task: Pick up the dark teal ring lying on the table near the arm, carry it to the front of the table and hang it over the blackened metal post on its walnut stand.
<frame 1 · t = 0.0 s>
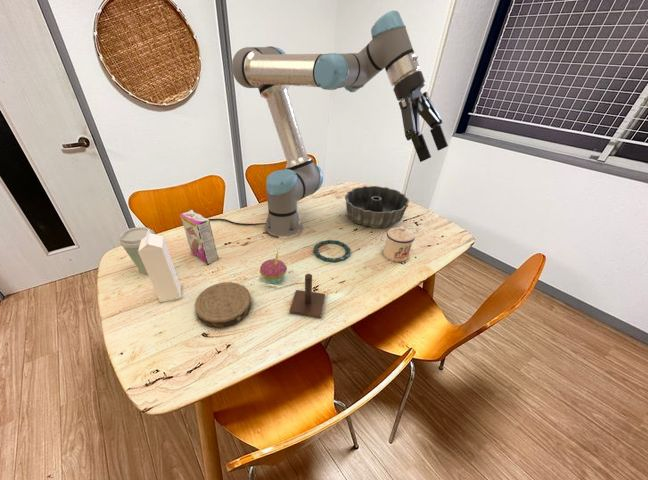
hand: (434, 153, 78), 36 cm above the table, tool tilted 35°, fingers open, 13 cm apart
ring: (331, 251, 103), point 1 cm above the table
milk: (171, 294, 87), on the table
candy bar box: (204, 256, 103), on the table
wood slice: (224, 307, 82), on the table
cupcake: (274, 280, 92), on the table
disposable coffee cup: (151, 269, 97), on the table
teacup with lid: (398, 254, 102), on the table
post: (307, 304, 82), on the table
bundt pan: (372, 219, 123), on the table
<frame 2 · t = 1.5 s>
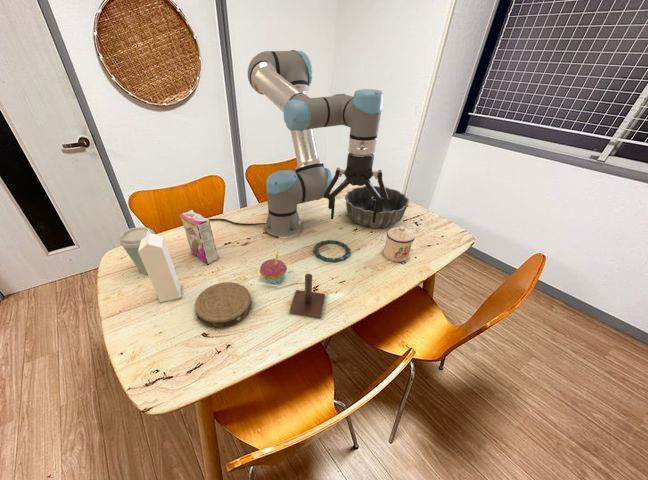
hand: (352, 219, 93), 15 cm above the table, tool pointing down, fingers open, 13 cm apart
nothing on the table moved.
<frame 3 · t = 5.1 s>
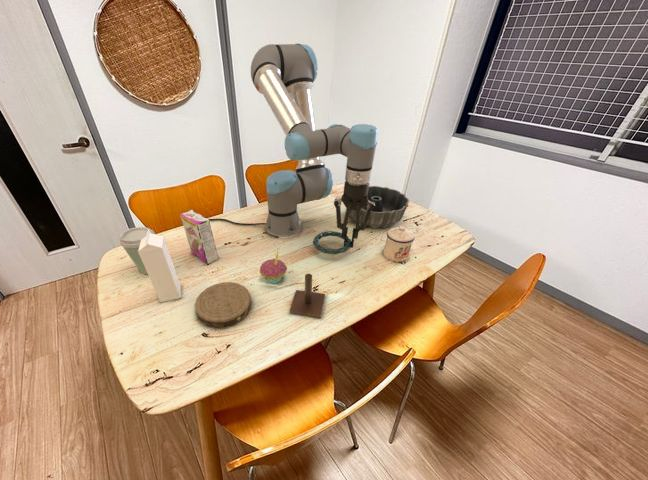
hand: (348, 244, 100), 4 cm above the table, tool pointing down, fingers closed on ring, 2 cm apart
ring: (332, 242, 100), point 5 cm above the table, touching gripper
everything else where it was.
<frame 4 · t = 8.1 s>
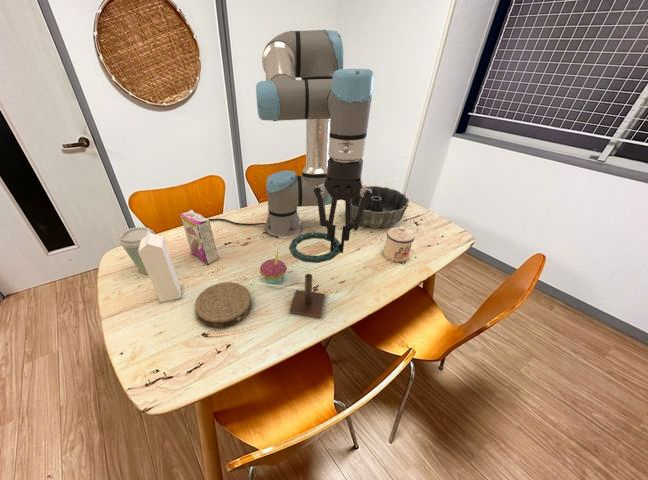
hand: (336, 249, 73), 18 cm above the table, tool pointing down, fingers closed on ring, 2 cm apart
ring: (315, 246, 74), point 18 cm above the table, touching gripper
everything else where it was.
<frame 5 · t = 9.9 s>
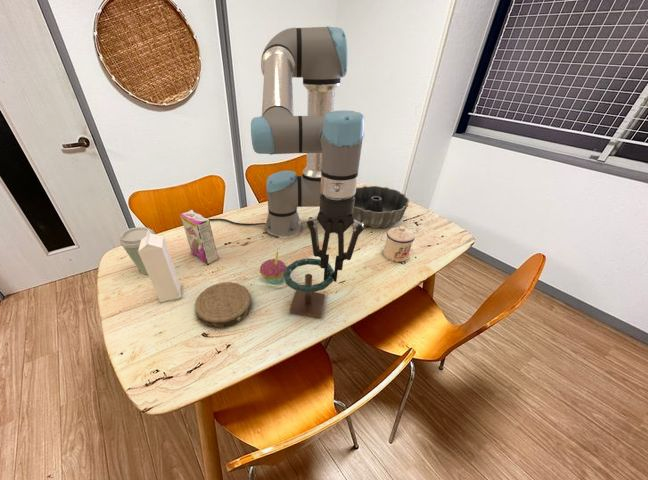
hand: (330, 277, 74), 12 cm above the table, tool pointing down, fingers closed on ring, 2 cm apart
ring: (308, 274, 75), point 12 cm above the table, touching gripper
everything else where it was.
when the fingers open (8 cm above the table, at t = 11.1 s): ring drops 6 cm, resting on post.
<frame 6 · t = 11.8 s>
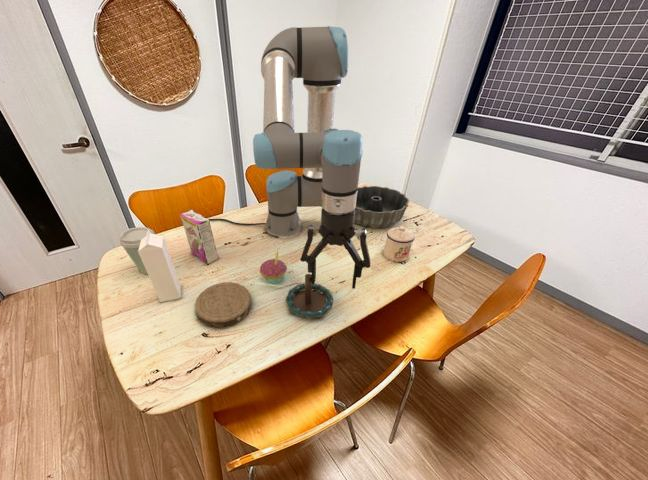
hand: (333, 283, 75), 10 cm above the table, tool pointing down, fingers open, 10 cm apart
ring: (309, 299, 81), point 2 cm above the table, touching post
everything else where it was.
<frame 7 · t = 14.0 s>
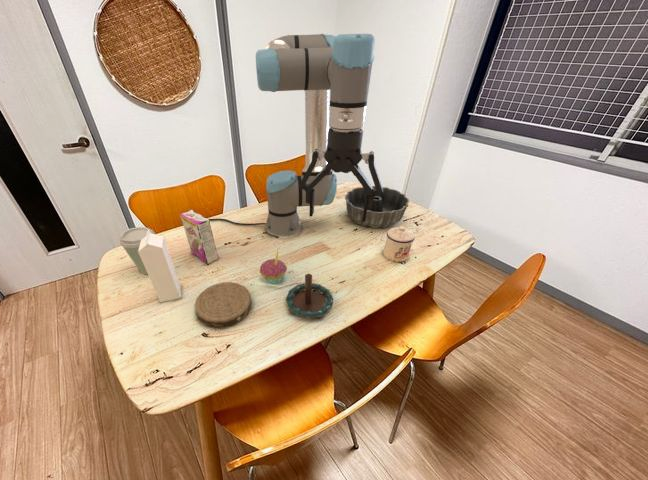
hand: (337, 216, 73), 25 cm above the table, tool pointing down, fingers open, 13 cm apart
nothing on the table moved.
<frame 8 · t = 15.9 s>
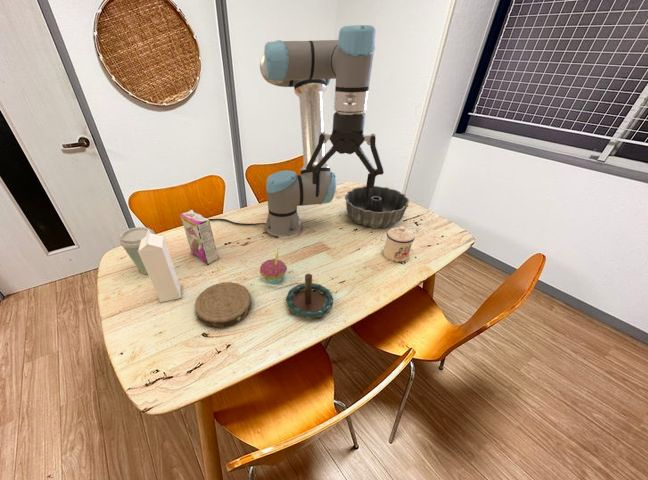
hand: (341, 196, 79), 27 cm above the table, tool pointing down, fingers open, 13 cm apart
nothing on the table moved.
at the end: ring 0.5 cm from the post (horizontally); ring point 2.1 cm above the table; the gripper is holding nothing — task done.
